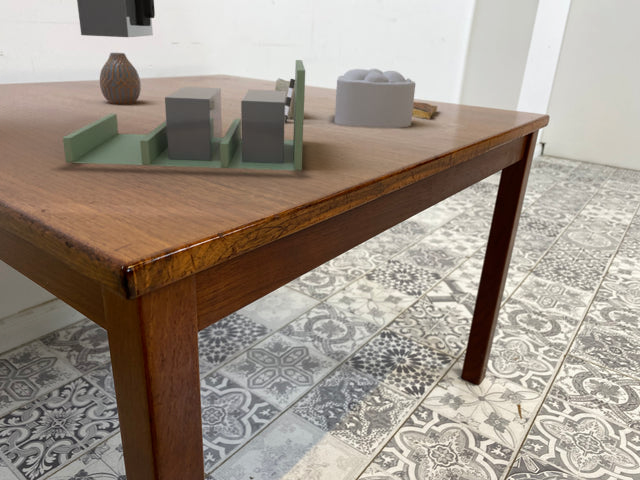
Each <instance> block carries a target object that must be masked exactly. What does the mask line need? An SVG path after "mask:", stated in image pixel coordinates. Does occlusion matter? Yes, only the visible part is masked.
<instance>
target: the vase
mask: <svg viewBox="0 0 640 480" xmlns="http://www.w3.org/2000/svg"><path fill="white" fill-rule="evenodd" d="M99 87H100V92H101V93H102V95H103V97H104V99H105V100H106V101H107V102H108V103H109V104H112V105H133V104H135V103H136V102H137V100H138V99H139V98H140V95H141V89H142V87H141V79H140V76H139V73H138V71H137V69H136V68H135V66H134V65H133V64H132V62H130V61H129V59H128V57H127V55H126V53H124V52H110V53H109V55H108V58H107V60H106V61H105V63H104V65H103V66H102V68H101V70H100V74H99Z"/></svg>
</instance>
